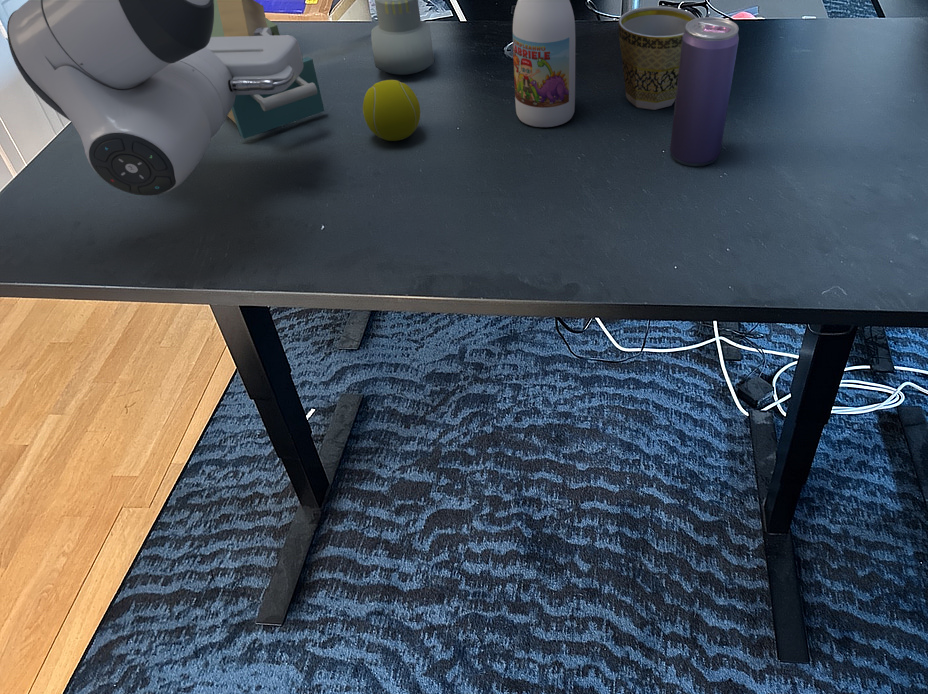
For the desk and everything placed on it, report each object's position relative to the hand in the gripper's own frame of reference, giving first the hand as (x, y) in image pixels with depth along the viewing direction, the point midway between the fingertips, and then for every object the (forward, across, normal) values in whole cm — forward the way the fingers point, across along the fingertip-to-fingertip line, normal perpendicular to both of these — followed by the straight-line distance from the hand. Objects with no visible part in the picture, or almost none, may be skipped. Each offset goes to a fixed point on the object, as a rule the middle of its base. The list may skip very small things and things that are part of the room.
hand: (225, 35), depth 89 cm
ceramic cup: (+10, -52, +13) cm, 54 cm away
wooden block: (+5, 0, +7) cm, 9 cm away
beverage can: (-6, -55, +13) cm, 57 cm away
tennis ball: (0, -18, +13) cm, 22 cm away
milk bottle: (+5, -37, +13) cm, 40 cm away
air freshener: (+21, -16, +13) cm, 30 cm away
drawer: (+6, 0, +12) cm, 14 cm away
